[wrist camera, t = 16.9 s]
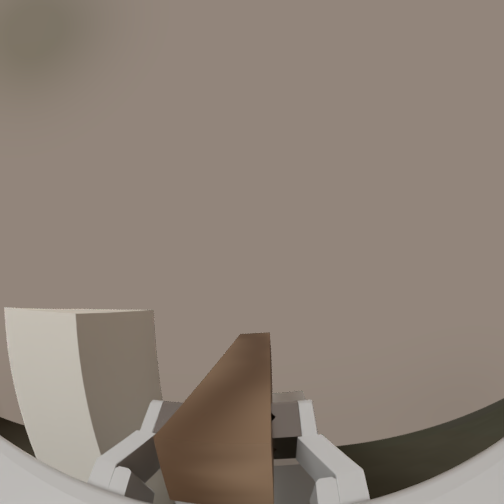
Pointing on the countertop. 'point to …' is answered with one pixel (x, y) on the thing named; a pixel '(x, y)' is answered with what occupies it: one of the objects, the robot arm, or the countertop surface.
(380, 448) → the countertop surface
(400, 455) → the countertop surface
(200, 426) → the bar
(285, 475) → the low stand
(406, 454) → the countertop surface
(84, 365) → the tall stand
